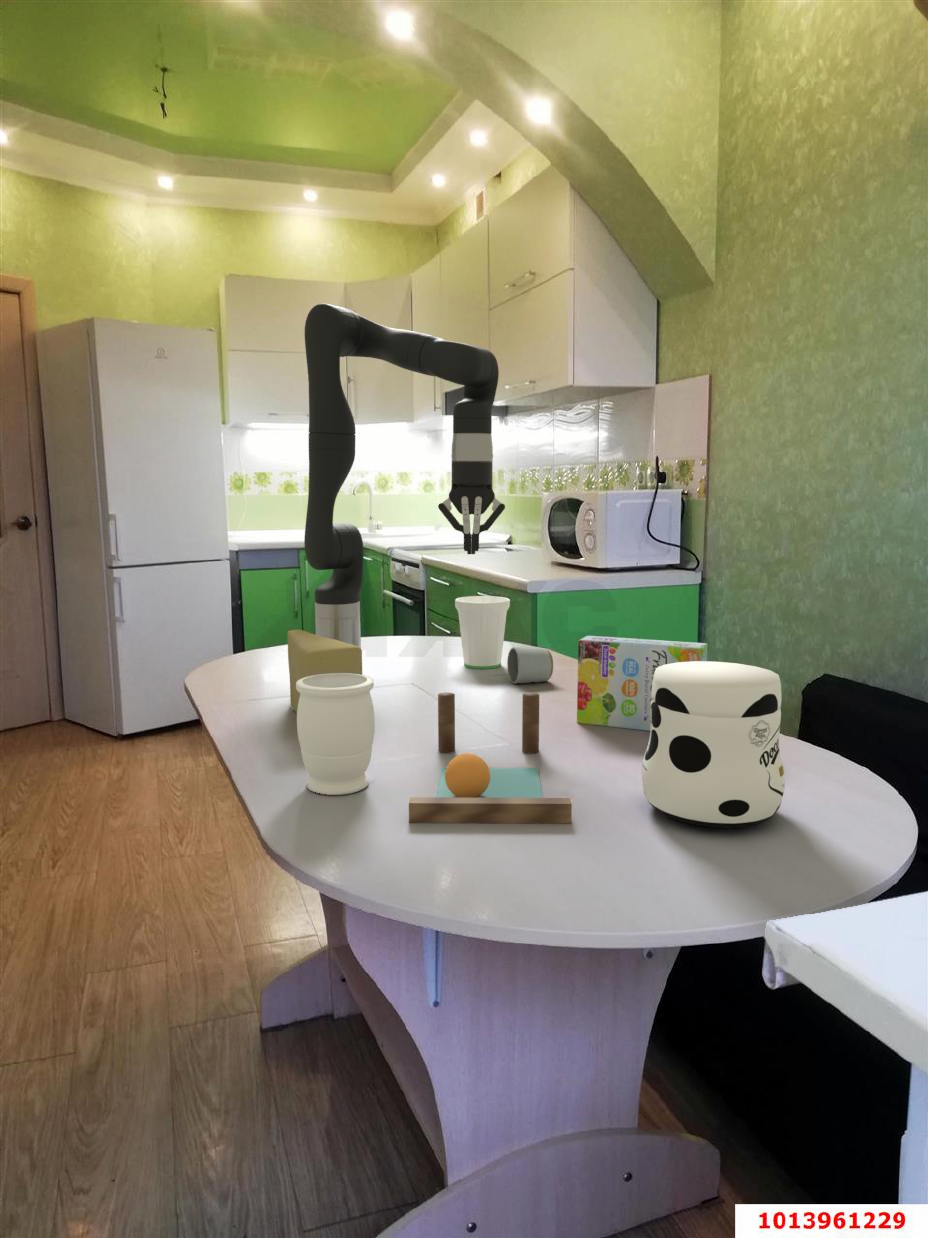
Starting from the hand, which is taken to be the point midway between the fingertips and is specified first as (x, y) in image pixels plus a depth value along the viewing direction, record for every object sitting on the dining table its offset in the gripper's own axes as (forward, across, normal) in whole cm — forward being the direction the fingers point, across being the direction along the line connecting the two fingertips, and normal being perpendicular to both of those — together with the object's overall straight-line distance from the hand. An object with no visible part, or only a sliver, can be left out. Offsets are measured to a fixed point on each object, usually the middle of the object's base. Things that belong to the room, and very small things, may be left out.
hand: (471, 553), depth 161 cm
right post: (+28, +10, -31) cm, 43 cm away
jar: (+28, -17, -47) cm, 58 cm away
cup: (+29, +2, +33) cm, 44 cm away
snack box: (+28, +29, -17) cm, 44 cm away
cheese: (+29, -27, -13) cm, 42 cm away
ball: (+25, +1, -51) cm, 57 cm away
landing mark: (+28, +4, -47) cm, 55 cm away
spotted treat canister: (+28, +32, -56) cm, 70 cm away
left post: (+28, -3, -31) cm, 42 cm away
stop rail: (+28, +4, -59) cm, 65 cm away
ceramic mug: (+29, +12, +18) cm, 36 cm away
